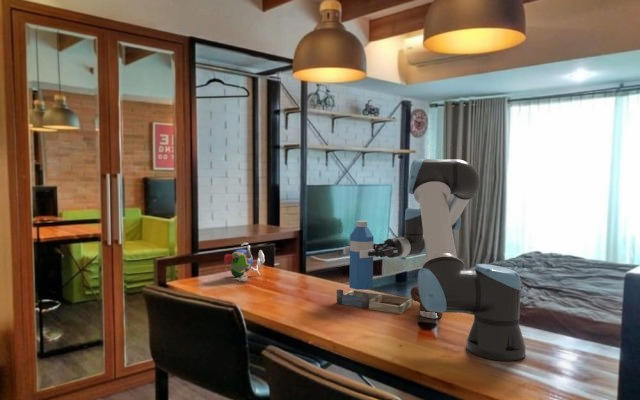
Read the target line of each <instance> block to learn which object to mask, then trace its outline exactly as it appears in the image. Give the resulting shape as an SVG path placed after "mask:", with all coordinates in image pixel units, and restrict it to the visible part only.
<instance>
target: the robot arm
mask: <svg viewBox="0 0 640 400" xmlns="http://www.w3.org/2000/svg"><path fill="white" fill-rule="evenodd" d="M407 185H408V188H407V192H408V194H410V195H413V197H414V199H415V201H416V202H417V203H419V207H408V208H406V209H405V210H404V211H405V215H404V237H396V238H387V239H386V240H385V241H384V243H374V242H373V249H370V250H361V251H360V258H368V257H373V258H374V257H375V258H377V257H380V258H384V257H387V258H390V259H391V258H393V259H394V258H401V259H402V258H403V257H407V256H408V257H409V256H418V255H422V254H424V253H425V258H426V261H425V262H424V263H423V265H422V268H421V269H419V270H418V273H417V285H418V286H417V287H418V289H419V293H418V294H419V297H420V299H421V302H422V304H423V306H424V307H425V309H427V310H428V311H432V312H440V313H442V314H443V313H452V314H453V313H459V314H463V313H464V314H465V313H466V314H473V317H474V318H473V322H472V325H471V328H470V331H469V332H468V336H467V339H466V349H467V350H468V351H469V352H470V353H472V354H473V355H476V356H478V357H482V358H484V359H488V360H494V361H502V362H504V361H505V362H511V361H517V360H522V359H524V358H525V357H526V351H527V350H526V348H527V347H526V344H525V340H524V337H523V334H522V333H523V332H522V329H521V327H520V313H521V292H522V288H521V276H520V274H519V273H518V272H517V271H516V270H513V269H510V268H507V267H503V266H499V265H493V264H488V263H487V264H486V263H477V264H475V267H474V269H466V268H465V264H464V261H463V260H461V259H460V258H458V256H457V250H456V243H455V239H454V233H453V232H458V231H460V229H461V226H462V217H461V215H462V214H463V211H464V210H465V208H466V207H467V205H468V204H469V201H470V200H472V199H474V198H475V197H476V196H477V194H478V193H479V190H480V187H481V177H480V174H479V172H478V171H477V169H476V168H475V167H474V166H473V165H471V163H470V162H468V161H465V160H463V159H459V158H458V159H457V158H456V159H455V158H454V159H452V158H451V159H446V158H444V159H443V158H442V159H441V158H440V159H439V158H420V159H419V158H418V159H414V160H413V161H412V162H411V164H410V169H409V178H408V184H407ZM342 254H343V255H350V245H349V246H343V250H342Z"/></svg>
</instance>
